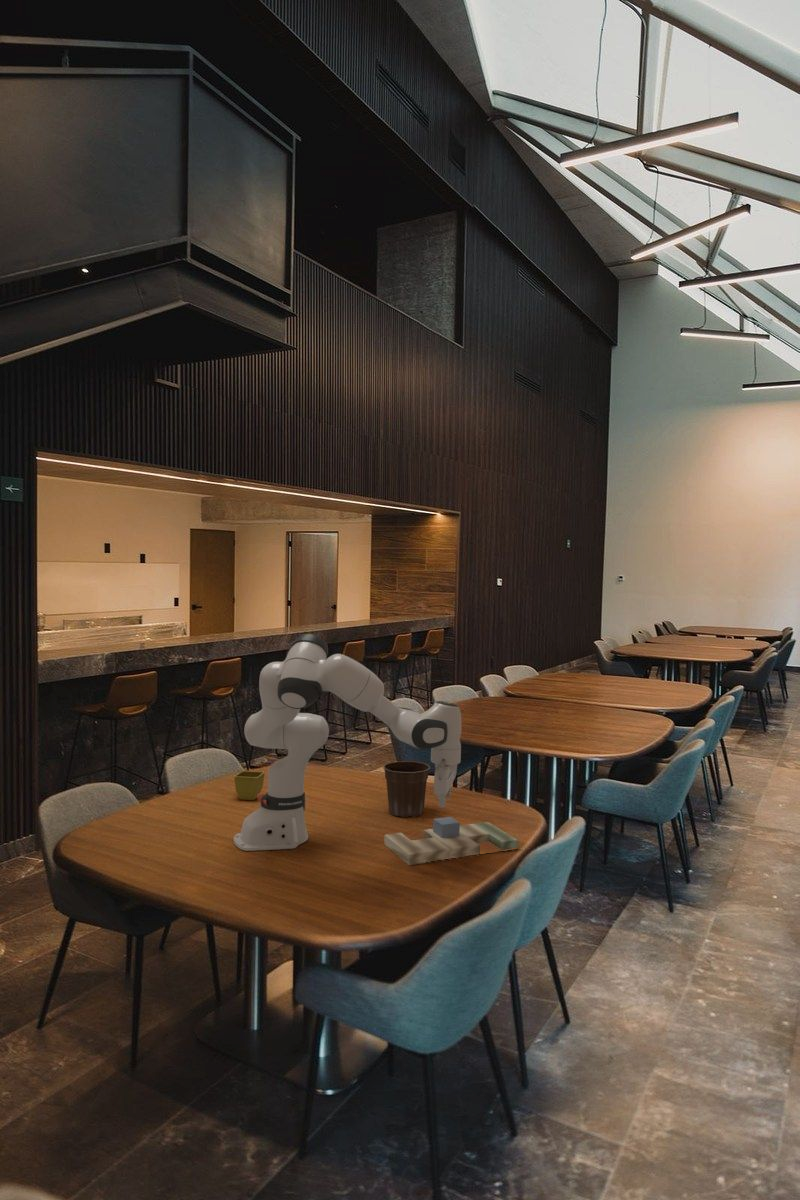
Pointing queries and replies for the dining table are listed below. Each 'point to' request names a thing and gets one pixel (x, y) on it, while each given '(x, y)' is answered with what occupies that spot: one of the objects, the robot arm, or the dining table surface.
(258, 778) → the flower pot
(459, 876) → the dining table surface
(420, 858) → the wooden cutout board
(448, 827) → the slate block
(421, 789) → the plant pot
